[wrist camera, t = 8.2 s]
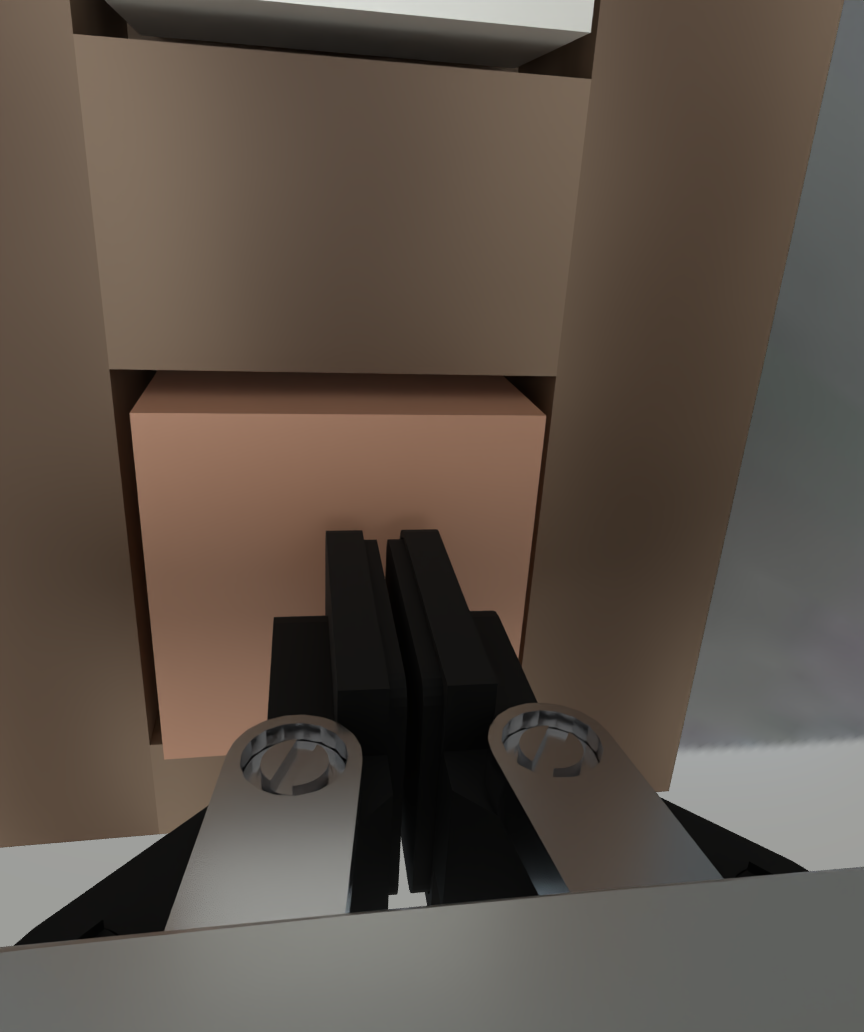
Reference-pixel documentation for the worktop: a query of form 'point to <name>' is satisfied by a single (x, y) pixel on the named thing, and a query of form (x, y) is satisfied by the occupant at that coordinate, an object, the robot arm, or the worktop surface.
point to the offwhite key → (374, 26)
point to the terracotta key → (312, 513)
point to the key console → (385, 329)
